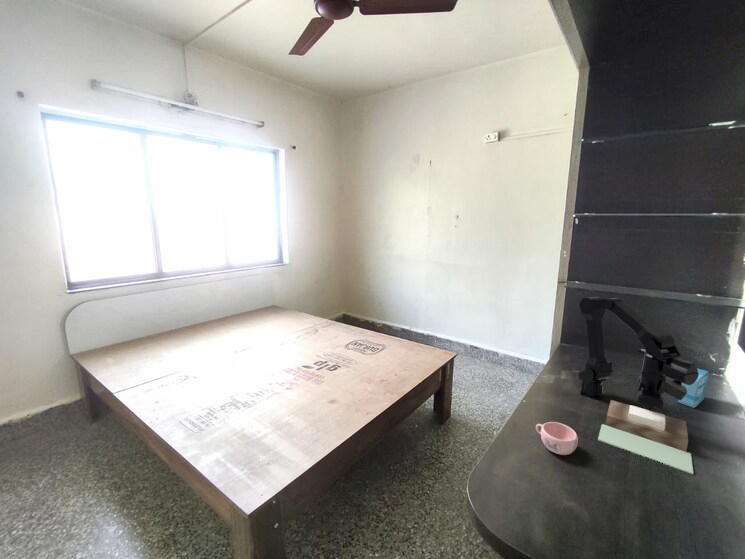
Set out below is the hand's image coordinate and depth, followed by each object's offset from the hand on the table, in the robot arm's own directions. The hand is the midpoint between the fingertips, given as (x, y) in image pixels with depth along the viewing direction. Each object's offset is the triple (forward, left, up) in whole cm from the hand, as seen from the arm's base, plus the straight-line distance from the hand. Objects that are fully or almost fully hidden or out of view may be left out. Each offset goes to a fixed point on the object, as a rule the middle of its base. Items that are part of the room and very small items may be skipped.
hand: (646, 412), depth 110 cm
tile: (0, -4, -1) cm, 4 cm away
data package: (+13, +30, -5) cm, 33 cm away
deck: (0, -2, -5) cm, 5 cm away
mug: (-21, -30, -5) cm, 37 cm away
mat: (0, -14, -5) cm, 15 cm away
